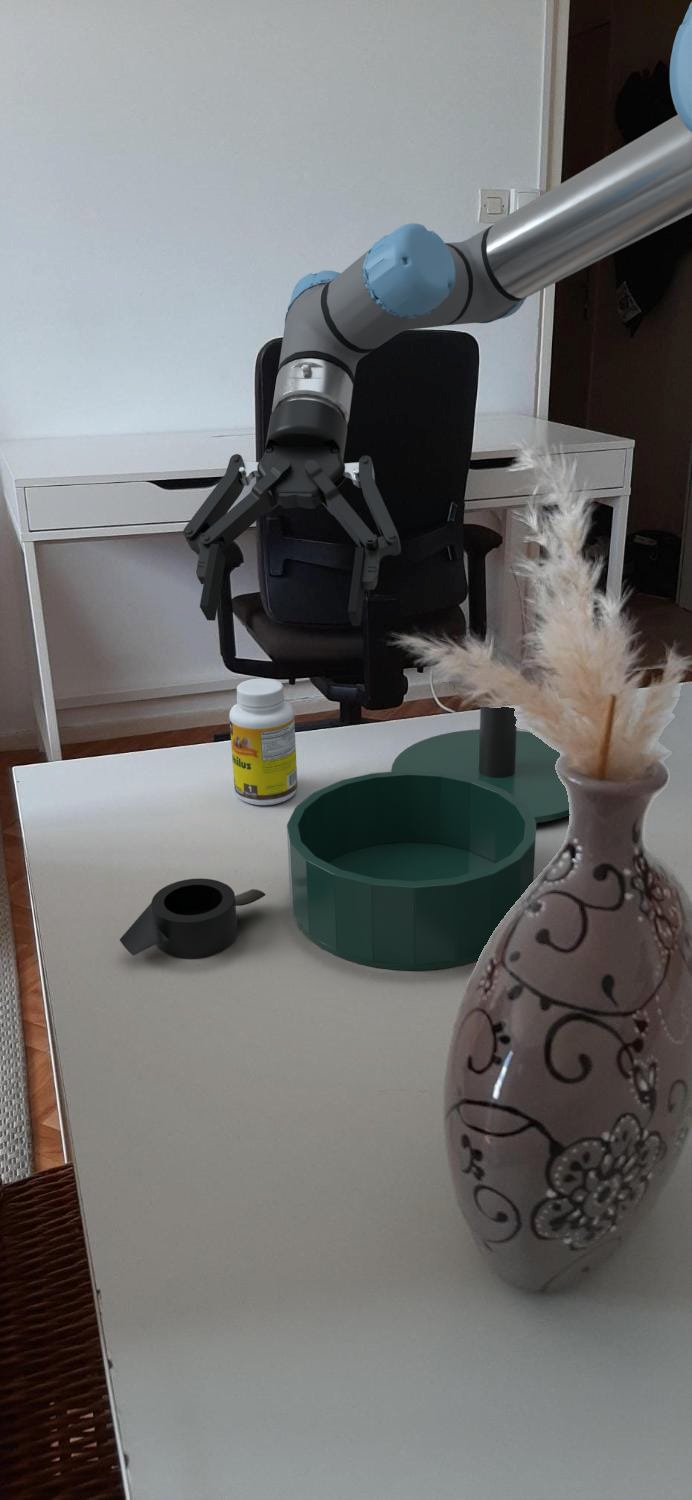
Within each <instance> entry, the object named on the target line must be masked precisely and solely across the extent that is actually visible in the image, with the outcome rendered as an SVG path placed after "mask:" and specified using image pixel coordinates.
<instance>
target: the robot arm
mask: <svg viewBox="0 0 692 1500" xmlns="http://www.w3.org/2000/svg"><path fill="white" fill-rule="evenodd" d="M669 63H670V64H669V86H670V94H671V99H672V102H673V105H674V109H675V111H676V113H677V114H676V115H675V116H673V117H671V118H669V119H668V120H666V121H664V122H662V123H661V124H659V125H658V126H656V127H655V128H653V129H651V130H649V131H648V132H646V133H644V134H643V135H641V136H639V137H638V138H636V139H634V140H633V141H631V142H629V143H627V144H625V145H623V147H621V148H619V149H617V150H616V151H614V152H612V153H610V154H609V155H607V156H605V157H604V158H602V159H600V160H599V161H597V162H595V163H593V164H592V165H590V166H589V167H587V168H585V169H584V170H582V171H580V172H579V173H577V174H575V175H574V176H571V177H570V178H568V179H566V180H565V181H563V182H562V183H560V184H559V185H557V186H555V187H553V188H551V189H550V190H548V191H547V192H545V193H543V194H541V195H540V196H538V197H536V198H535V199H532V200H531V201H530V202H528V203H526V204H525V205H523V206H521V207H520V208H518V209H516V210H514V211H513V212H511V213H509V214H508V215H506V216H504V217H503V218H501V219H500V220H497V221H496V222H495V223H494V224H492V225H491V226H489V227H487V228H485V229H483V230H481V231H479V232H477V233H476V234H475V235H472V236H471V237H469V238H467V239H465V240H463V241H459V242H458V241H457V242H445V241H444V240H443V238H442V237H441V236H439V234H438V233H437V232H436V231H434V230H428V229H427V228H426V226H425V225H423V224H421V223H415V222H412V223H411V222H410V223H407V224H403V225H400V227H398V228H396V229H395V230H393V231H392V232H390V233H389V234H387V235H385V236H382V237H381V238H379V239H378V241H376V242H374V243H373V244H372V246H371V247H370V248H369V249H368V250H367V251H365V252H364V253H363V254H362V255H361V256H360V257H359V258H357V259H356V260H355V261H354V262H353V263H351V264H350V265H349V266H348V267H346V269H344V270H342V272H339V271H335V270H328V269H327V270H326V269H325V270H320V271H319V272H316V273H311V272H310V273H308V274H305V275H304V276H302V277H301V278H300V279H299V280H298V281H297V283H296V284H295V285H294V287H293V290H292V292H291V296H290V301H289V304H288V306H287V311H286V312H285V317H284V328H283V334H282V341H281V350H280V354H279V355H280V356H279V363H278V368H277V369H278V371H277V376H276V379H275V380H276V381H275V389H274V393H273V394H274V395H273V401H272V406H271V407H272V408H271V414H270V417H269V423H268V429H267V434H266V435H267V436H266V442H265V449H264V453H263V456H262V457H261V459H260V460H259V461H251V460H244V459H243V456H242V455H241V454H238V453H235V454H233V455H232V456H230V458H229V460H228V465H227V468H226V471H225V474H224V475H223V476H222V477H221V479H220V480H219V482H218V483H217V484H216V485H215V487H214V488H213V489H212V491H211V492H210V493H209V494H208V496H207V497H206V498H205V500H204V501H203V503H202V504H201V505H200V507H199V508H198V510H197V511H195V513H194V515H193V516H192V518H191V519H190V520H189V521H188V523H187V524H186V526H185V527H184V528H183V530H182V534H183V536H184V537H183V538H184V539H185V540H186V542H187V544H188V546H189V549H190V550H192V551H195V552H196V551H199V553H198V559H197V565H196V570H195V574H196V578H197V580H198V581H199V583H200V584H201V585H202V591H201V597H200V601H199V602H200V603H199V608H200V610H201V612H202V613H203V615H204V617H205V619H206V621H214V622H215V621H216V618H217V612H218V606H219V600H220V596H221V595H220V594H221V589H222V584H223V583H222V582H223V577H224V573H225V566H226V560H227V559H226V556H225V554H224V553H223V551H224V550H226V548H228V546H230V544H232V543H233V542H234V541H235V540H237V539H238V538H239V537H240V536H241V535H242V534H243V533H244V532H245V531H247V530H248V529H249V528H250V527H251V526H252V525H253V524H255V523H256V522H257V521H258V520H259V519H260V518H261V517H263V516H264V515H265V514H267V515H268V514H270V513H272V511H274V510H275V509H276V508H278V507H279V506H282V508H283V509H295V508H299V507H300V508H303V509H307V510H308V509H309V510H310V509H312V510H316V507H318V506H320V505H323V506H324V508H325V509H326V510H327V511H328V512H329V514H331V515H332V516H334V518H335V519H336V520H337V522H338V523H339V524H340V525H341V527H343V529H344V530H345V531H346V532H347V534H348V535H349V536H350V538H351V539H352V540H353V542H355V544H356V545H357V546H356V547H355V553H354V560H353V567H352V568H353V569H352V575H351V583H350V591H349V600H348V607H347V612H348V616H349V617H348V618H349V619H350V620H349V621H350V624H351V626H353V627H360V626H362V625H361V624H362V615H363V609H364V607H363V606H364V601H365V591H366V590H373V591H374V590H375V589H376V587H377V585H378V578H379V569H380V562H381V560H382V559H383V558H384V557H385V556H389V555H390V556H393V557H394V556H395V557H396V556H398V555H400V554H401V552H402V547H401V542H400V541H401V540H400V537H399V533H398V531H397V529H396V528H397V527H396V526H395V524H394V522H393V519H392V517H391V515H390V513H389V510H388V509H387V505H386V504H385V502H384V500H383V497H382V495H381V493H380V490H379V488H378V487H377V484H376V477H375V476H376V474H375V469H374V464H373V460H372V458H371V456H370V455H362V456H361V457H360V458H359V459H358V462H357V461H356V462H348V463H347V462H344V458H345V451H346V450H345V449H346V444H347V435H348V424H349V421H350V414H351V406H352V398H353V390H354V385H355V375H356V370H357V365H358V362H359V361H360V360H361V359H362V358H364V357H365V356H367V355H368V354H370V353H372V352H373V351H375V350H376V349H378V348H379V347H380V346H382V345H383V344H385V343H387V342H388V341H389V340H391V339H392V338H393V337H395V336H396V335H398V334H400V333H402V332H404V331H405V332H406V331H407V330H409V331H410V330H419V329H428V328H437V327H446V326H456V325H457V326H458V325H468V324H489V323H492V322H495V321H498V320H501V319H505V318H508V317H510V316H513V315H514V314H515V313H517V312H518V311H519V310H520V309H521V307H522V306H523V305H524V303H525V301H526V300H527V298H528V297H530V296H532V295H534V294H536V293H538V292H540V291H542V290H544V289H546V288H548V287H550V286H552V285H554V284H556V283H558V282H560V281H562V280H563V279H565V278H567V277H569V276H572V275H573V274H575V273H577V272H579V271H581V270H583V269H585V268H588V267H589V266H591V265H593V264H595V263H597V262H599V261H602V259H605V258H606V257H609V256H610V255H612V254H614V253H617V252H618V251H620V250H622V249H624V248H627V247H628V246H630V245H633V244H634V243H636V242H638V241H640V240H641V239H642V240H643V239H644V238H646V237H647V236H650V235H652V234H653V233H655V232H658V231H659V230H661V229H663V228H665V227H667V226H669V225H671V224H673V223H675V222H678V220H681V219H683V218H686V216H689V215H691V214H692V1H691V2H690V4H689V6H688V8H687V10H686V13H685V15H684V18H683V20H682V23H681V24H680V25H679V27H678V29H677V31H676V35H675V38H674V41H673V45H672V51H671V55H670V62H669ZM256 477H259V479H258V481H256V482H255V484H254V485H252V488H251V491H250V492H249V493H248V494H247V495H246V496H245V497H243V498H242V499H241V500H240V501H239V502H238V503H237V504H235V502H236V501H237V500H238V499H239V497H240V496H241V495H242V493H243V490H244V488H245V487H249V486H250V484H251V481H252V480H253V479H254V478H256ZM346 479H350V480H351V481H352V484H353V485H354V486H355V487H357V488H359V489H361V491H362V494H363V495H362V496H363V499H364V500H365V503H366V505H367V507H368V509H369V512H370V514H371V516H372V519H373V520H374V523H375V525H376V528H377V530H378V532H379V534H380V536H377V533H375V534H374V533H373V532H372V531H371V529H370V528H369V527H368V525H366V523H365V522H364V521H363V520H362V518H361V517H360V516H359V515H358V514H357V512H356V511H355V510H354V509H353V508H352V507H351V505H350V504H349V502H347V500H346V499H345V497H343V495H342V494H341V493H340V491H339V487H340V486H341V485H342V484H343V483H344V482H345V481H346ZM268 493H269V494H268ZM234 504H235V505H234Z"/></svg>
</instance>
